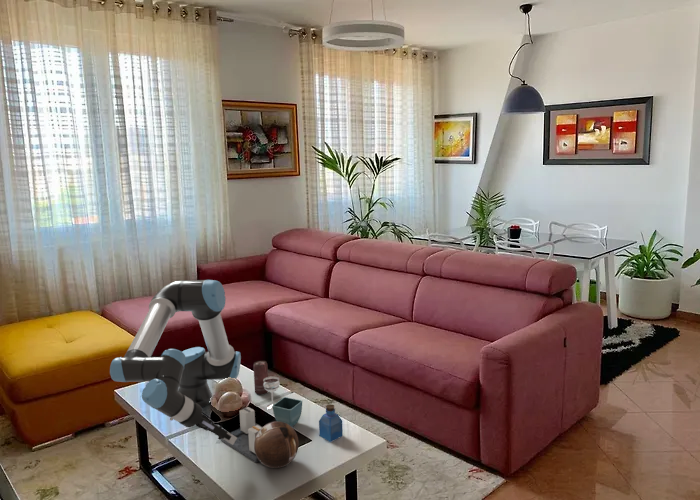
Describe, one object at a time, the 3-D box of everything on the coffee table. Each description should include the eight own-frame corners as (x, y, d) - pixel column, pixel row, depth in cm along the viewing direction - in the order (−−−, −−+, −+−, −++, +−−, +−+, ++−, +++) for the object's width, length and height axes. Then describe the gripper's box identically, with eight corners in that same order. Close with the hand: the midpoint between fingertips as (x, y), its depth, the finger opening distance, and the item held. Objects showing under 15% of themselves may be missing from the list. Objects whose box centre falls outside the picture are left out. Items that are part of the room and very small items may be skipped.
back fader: (240, 430, 207) (239, 409, 206) (249, 426, 210) (248, 406, 209) (246, 433, 205) (245, 413, 203) (255, 429, 207) (254, 409, 206)
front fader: (249, 450, 193) (248, 428, 192) (258, 445, 196) (257, 423, 195) (256, 454, 191) (254, 431, 189) (265, 449, 193) (264, 427, 192)
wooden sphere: (248, 462, 189) (245, 422, 187) (286, 448, 198) (284, 409, 195) (267, 482, 177) (265, 440, 175) (307, 466, 186) (305, 426, 183)
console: (221, 440, 204) (220, 436, 203) (254, 425, 214) (253, 421, 214) (256, 463, 189) (255, 458, 188) (289, 445, 199) (289, 441, 199)
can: (263, 396, 240) (261, 366, 237) (252, 393, 243) (250, 363, 241) (271, 391, 245) (270, 361, 243) (261, 388, 248) (259, 358, 246)
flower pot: (272, 427, 213) (271, 405, 211) (285, 417, 221) (284, 396, 219) (291, 431, 209) (290, 410, 207) (303, 421, 217) (303, 400, 215)
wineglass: (283, 404, 232) (282, 378, 230) (274, 411, 226) (273, 384, 224) (270, 401, 235) (269, 375, 233) (261, 408, 229) (259, 381, 227)
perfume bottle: (331, 430, 210) (330, 401, 208) (342, 435, 205) (341, 406, 203) (319, 436, 205) (318, 406, 203) (330, 442, 201) (329, 411, 199)
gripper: (168, 415, 174) (217, 444, 188) (189, 429, 165) (238, 458, 179) (182, 394, 176) (229, 424, 191) (203, 406, 167) (251, 437, 182)
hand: (233, 440), depth 185 cm, fingers closed
